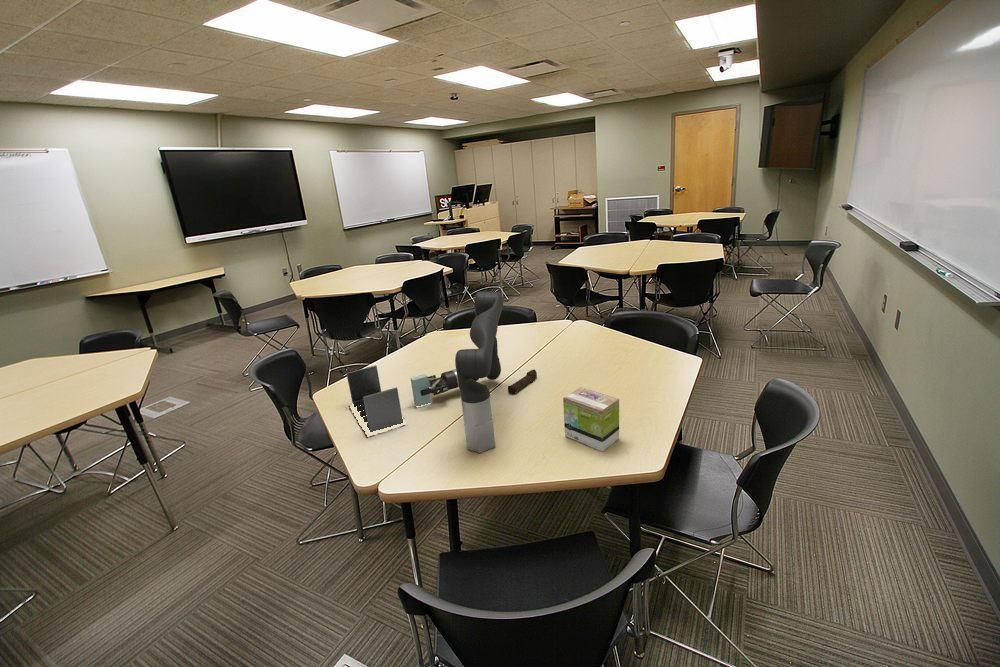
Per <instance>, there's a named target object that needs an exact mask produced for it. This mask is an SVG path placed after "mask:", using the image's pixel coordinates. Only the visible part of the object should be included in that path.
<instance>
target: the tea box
mask: <svg viewBox="0 0 1000 667" xmlns="http://www.w3.org/2000/svg"><path fill="white" fill-rule="evenodd" d="M562 400H563V401H562V402H563V404H562V406H563V419H564V420H563V422H564V425H563V426H564V436H565V437H567V438H569V439H570V440H571V439H572V440H574V441H577V442H578V443H581V444H583V445H586V446H588V447H590V448H593V449H595V450H597V451H599V452H604V451H606V450H607V449H608V448H609V447H610V446H612V445H613V444H614V443H615V442H617V441H618V440H619V439H620V399H619V398H616V397H613V396H611V395H607V394H604V393H601V392H597V391H595V390H591V389H588V388H586V387H581V386H580V387H578V388H577V389H576V390H574V391H572V392H570V393H569V394H567V395H566V396H564V397H563V398H562Z"/></svg>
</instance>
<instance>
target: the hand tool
mask: <svg viewBox="0 0 1000 667" xmlns="http://www.w3.org/2000/svg"><path fill="white" fill-rule="evenodd" d="M537 373H538V372H537V370H536V369H531V370H528V371H527V372H526V375H525V376H522V378H520V379H519V380H517V381H515V382H514V383H513V384H510V385H508V386H507V392H508V393H509V394H510V395H516V394H517V393H518V392H519V391H520V390H522V389H523V388H524V387H526V386H527V385H529V384H532V383H534V382H535V381H536V379H537V377H538V374H537ZM533 381H534V382H533Z"/></svg>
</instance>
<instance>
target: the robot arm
mask: <svg viewBox="0 0 1000 667" xmlns="http://www.w3.org/2000/svg"><path fill="white" fill-rule="evenodd" d="M473 302H474V304H473V305H474V306H473V307H474V315H475V317H474V319H473V321H472V323H471V326H470V330H469V337H470V340H471V342H472V343H473V345H474V346H476V347H477V348H465V349H463V348H462V349H459V350H457V351H456V353H455V359H454V360H455V361H454V363H455V364H454V365H455V369H451V370H448V371H444V372H441V374H440V377H437V376H436V374H433V375H429V376H428V383H429V388H427V389H424V390H421V391H420V393H421V395H422V396H424V395H427V394H430V395H434V396H438V395H441V394H444V393H447V392H448V391H451V390H454V389H457V388H458V389H459V393H460V401H461V409H462V410H461V411H462V418H463V427H464V434H465V441H466V448H467V449H468V450H470V451H471V452H476V453H478V454H481V453H484V452H486V451H488V450H491V449H493V448H495V447H496V440H495V438H496V437H495V431H494V429H495V428H494V421H493V415H492V414H493V413H492V404H491V402H492V401H491V394H490V388H489V387H488V385H486V384H485V383H482V382H479V380H480V379H484V378H486V379H488V380H490V381H495V380H497V379H498V378H499V377H500V375H501V373H502V366H501V362H500V357H499V354H498V347H499V346H498V339H497V334H498V327H499V320H500V317H501V315H502V312H503V307H504V296H503V295H502V294H501V293H500V292H497V291H477V292H476V294H475V296H474V300H473Z"/></svg>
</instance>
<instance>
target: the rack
mask: <svg viewBox="0 0 1000 667" xmlns="http://www.w3.org/2000/svg"><path fill="white" fill-rule="evenodd" d="M345 374H346V378H347V383H348V389H349V392H350V393H349V394H350V398H351V402H352V403H353V404H354V407H356V406H357V411H358V412H359V411H361V412H360V416H361V417H363V416H365V417H363V419H364V422H368V423H367V427H368V428H369V430H370V432H373V431H376V430H380V429H384V428H387V427H391V426H393V425H397V424H401V423H403V419H402V416H403V413H402V407H401V402H400V396H399V391H398V387H393V388H390V389H385V390H382V389H381V383H380V378H379V372H378V366H377V364H376V365H372V366H367V367H364V368H361V369H356V370H353V371H352V370H351V371H349V372H345ZM352 403H351V404H352ZM360 405H361V406H360ZM363 410H364V411H363ZM366 415H367V416H366Z"/></svg>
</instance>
